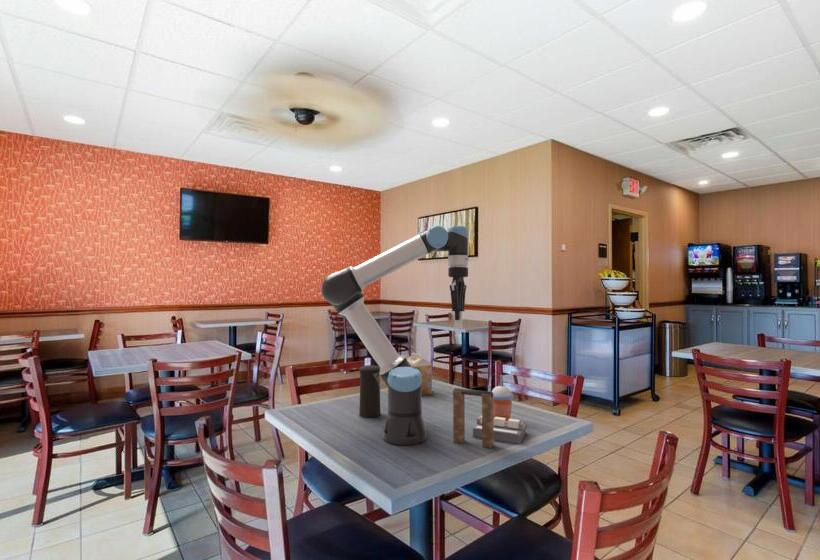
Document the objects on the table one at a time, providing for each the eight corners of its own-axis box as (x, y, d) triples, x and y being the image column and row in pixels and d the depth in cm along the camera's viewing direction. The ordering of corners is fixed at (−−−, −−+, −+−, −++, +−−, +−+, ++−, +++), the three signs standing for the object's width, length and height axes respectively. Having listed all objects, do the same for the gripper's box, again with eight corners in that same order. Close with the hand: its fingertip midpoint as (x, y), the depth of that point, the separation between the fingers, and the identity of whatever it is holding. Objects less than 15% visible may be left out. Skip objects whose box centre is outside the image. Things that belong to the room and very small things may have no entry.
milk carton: (431, 393, 212) (431, 354, 212) (413, 396, 207) (413, 356, 207) (420, 389, 221) (420, 351, 221) (402, 391, 216) (402, 353, 216)
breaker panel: (472, 436, 151) (472, 422, 151) (482, 426, 161) (482, 413, 161) (519, 443, 144) (519, 428, 144) (526, 432, 154) (526, 418, 154)
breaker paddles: (480, 423, 154) (480, 416, 154) (481, 421, 157) (481, 414, 157) (518, 428, 149) (518, 421, 149) (519, 426, 151) (519, 419, 151)
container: (383, 416, 174) (383, 366, 175) (361, 419, 171) (361, 368, 171) (377, 410, 182) (377, 363, 183) (356, 413, 179) (356, 364, 179)
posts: (453, 442, 146) (452, 390, 146) (456, 438, 149) (456, 388, 149) (490, 448, 140) (490, 394, 140) (493, 444, 143) (493, 392, 143)
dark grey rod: (452, 393, 147) (452, 388, 147) (454, 392, 148) (454, 387, 148) (492, 398, 141) (492, 392, 141) (494, 396, 142) (494, 391, 142)
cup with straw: (496, 426, 162) (496, 378, 162) (485, 419, 170) (485, 373, 171) (518, 424, 164) (517, 376, 164) (506, 417, 173) (506, 372, 173)
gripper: (462, 265, 158) (462, 330, 157) (472, 267, 170) (473, 327, 169) (442, 266, 161) (443, 329, 161) (454, 267, 173) (454, 326, 172)
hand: (458, 328), depth 165 cm, fingers closed
